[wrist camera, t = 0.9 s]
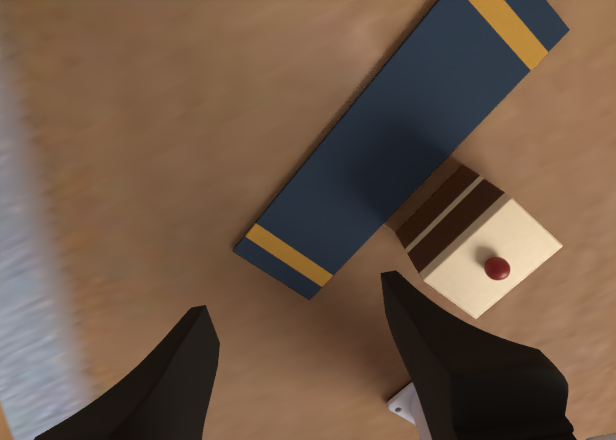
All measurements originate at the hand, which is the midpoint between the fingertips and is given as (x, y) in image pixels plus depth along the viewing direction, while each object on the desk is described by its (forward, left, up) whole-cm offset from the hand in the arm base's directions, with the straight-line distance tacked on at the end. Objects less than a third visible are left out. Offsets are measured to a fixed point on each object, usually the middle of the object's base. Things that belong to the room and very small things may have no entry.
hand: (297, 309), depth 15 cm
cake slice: (-8, -6, -10) cm, 14 cm away
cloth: (-2, -7, -10) cm, 12 cm away
